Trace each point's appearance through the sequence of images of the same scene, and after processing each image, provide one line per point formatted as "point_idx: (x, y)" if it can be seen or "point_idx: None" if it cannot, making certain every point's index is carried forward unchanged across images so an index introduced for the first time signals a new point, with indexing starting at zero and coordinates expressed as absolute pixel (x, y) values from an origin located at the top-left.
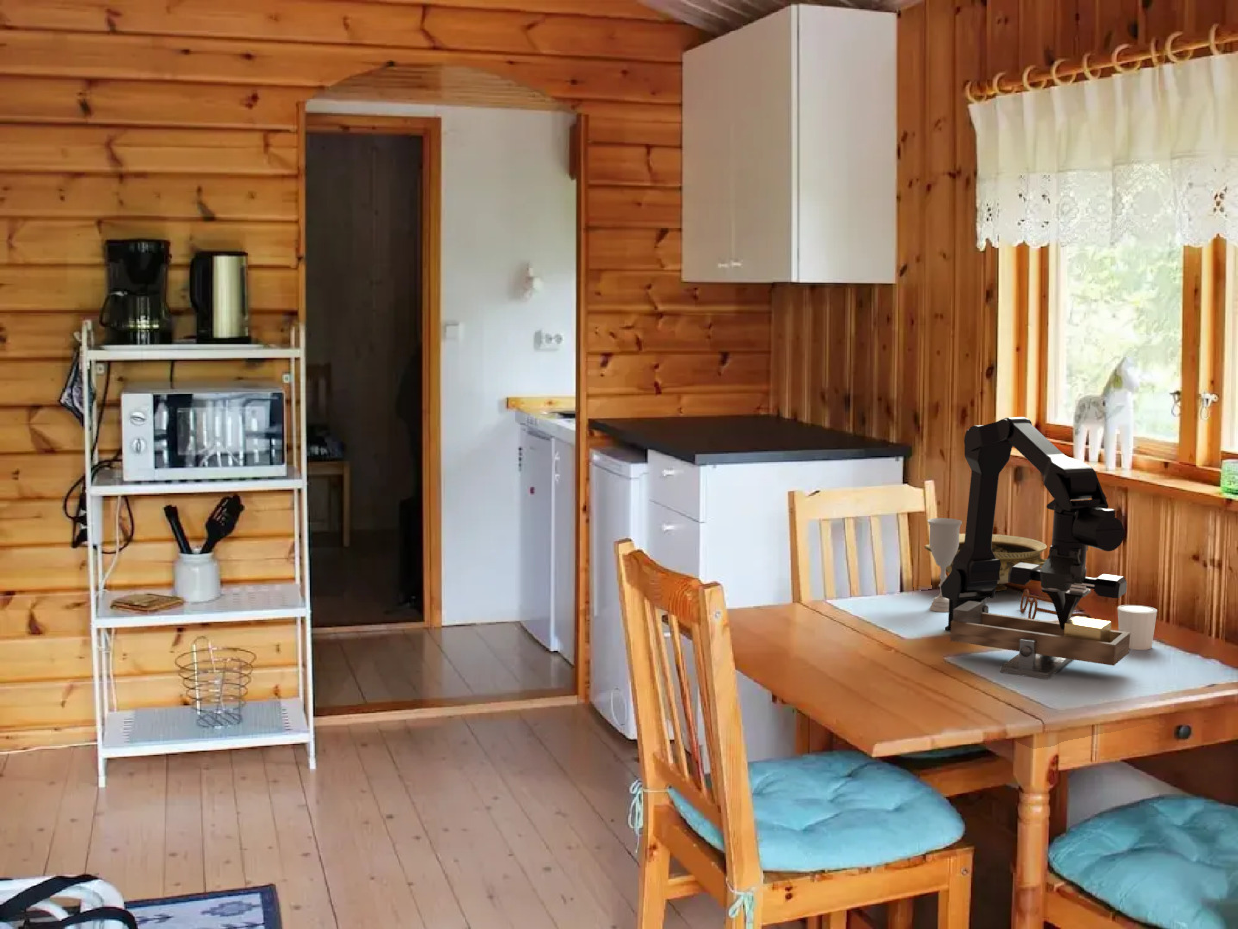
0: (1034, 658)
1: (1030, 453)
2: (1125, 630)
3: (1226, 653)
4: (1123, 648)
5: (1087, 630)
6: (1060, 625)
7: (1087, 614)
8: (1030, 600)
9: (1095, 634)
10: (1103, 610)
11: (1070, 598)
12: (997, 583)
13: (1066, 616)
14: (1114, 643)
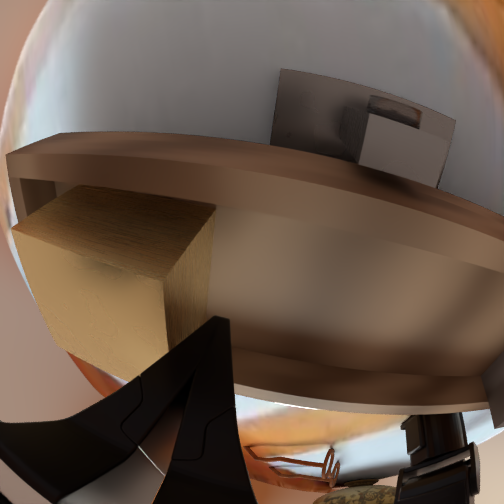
0: (347, 125)
1: None
2: None
3: (79, 368)
4: None
5: (61, 230)
6: (227, 330)
7: (255, 459)
8: (329, 475)
9: (45, 215)
10: (250, 466)
11: (56, 447)
12: (355, 487)
13: (169, 361)
14: (12, 177)
